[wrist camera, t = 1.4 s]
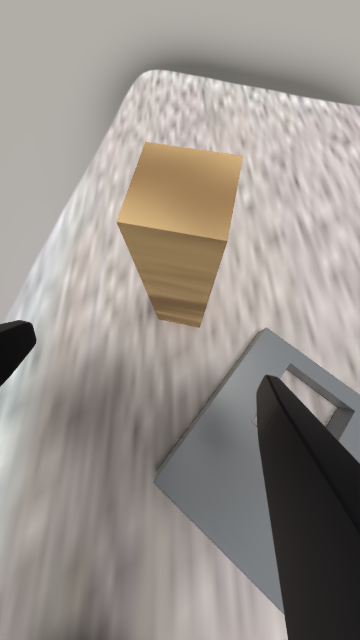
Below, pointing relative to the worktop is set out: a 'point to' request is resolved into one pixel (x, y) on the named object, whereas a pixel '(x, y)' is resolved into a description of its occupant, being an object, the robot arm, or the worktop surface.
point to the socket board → (246, 457)
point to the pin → (179, 225)
